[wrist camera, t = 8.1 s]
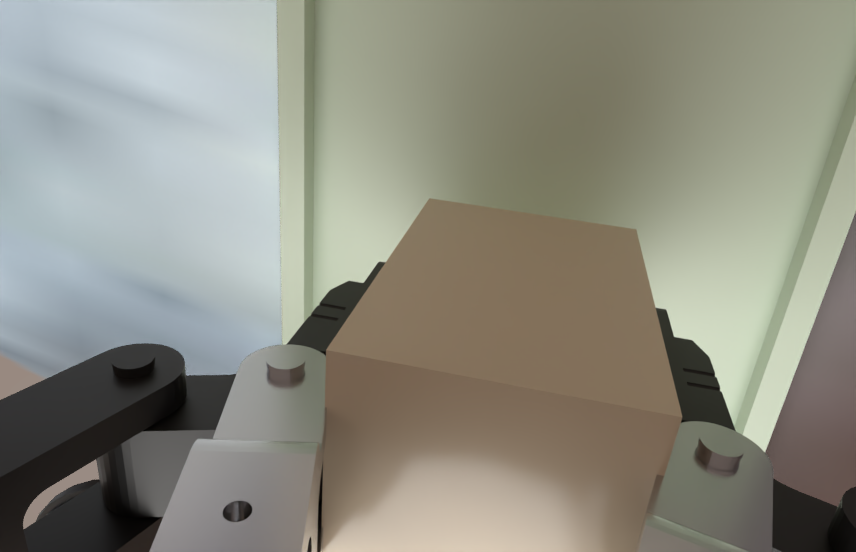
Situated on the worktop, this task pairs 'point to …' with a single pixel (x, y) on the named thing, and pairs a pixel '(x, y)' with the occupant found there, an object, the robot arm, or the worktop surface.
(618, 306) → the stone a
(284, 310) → the bin
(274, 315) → the worktop surface
